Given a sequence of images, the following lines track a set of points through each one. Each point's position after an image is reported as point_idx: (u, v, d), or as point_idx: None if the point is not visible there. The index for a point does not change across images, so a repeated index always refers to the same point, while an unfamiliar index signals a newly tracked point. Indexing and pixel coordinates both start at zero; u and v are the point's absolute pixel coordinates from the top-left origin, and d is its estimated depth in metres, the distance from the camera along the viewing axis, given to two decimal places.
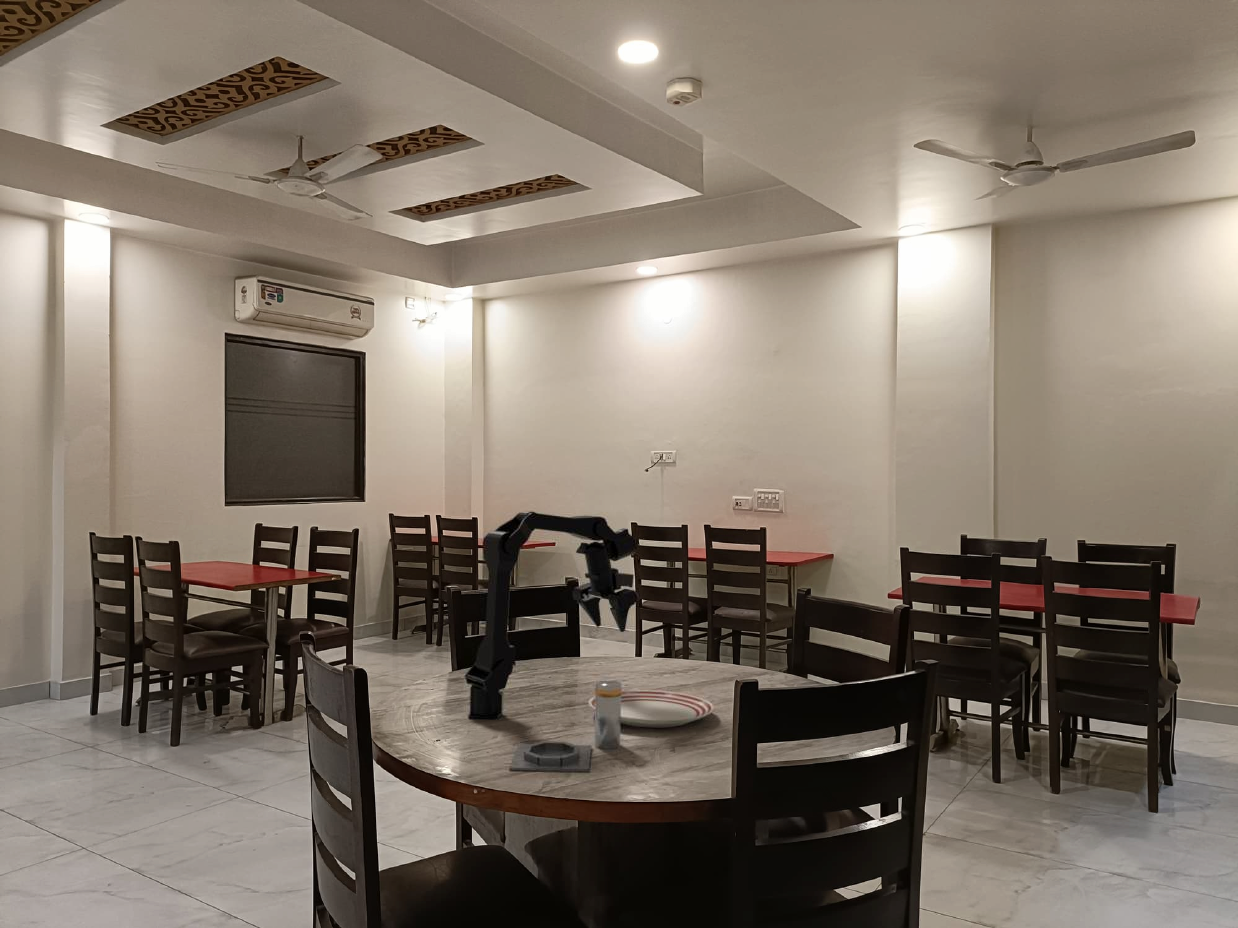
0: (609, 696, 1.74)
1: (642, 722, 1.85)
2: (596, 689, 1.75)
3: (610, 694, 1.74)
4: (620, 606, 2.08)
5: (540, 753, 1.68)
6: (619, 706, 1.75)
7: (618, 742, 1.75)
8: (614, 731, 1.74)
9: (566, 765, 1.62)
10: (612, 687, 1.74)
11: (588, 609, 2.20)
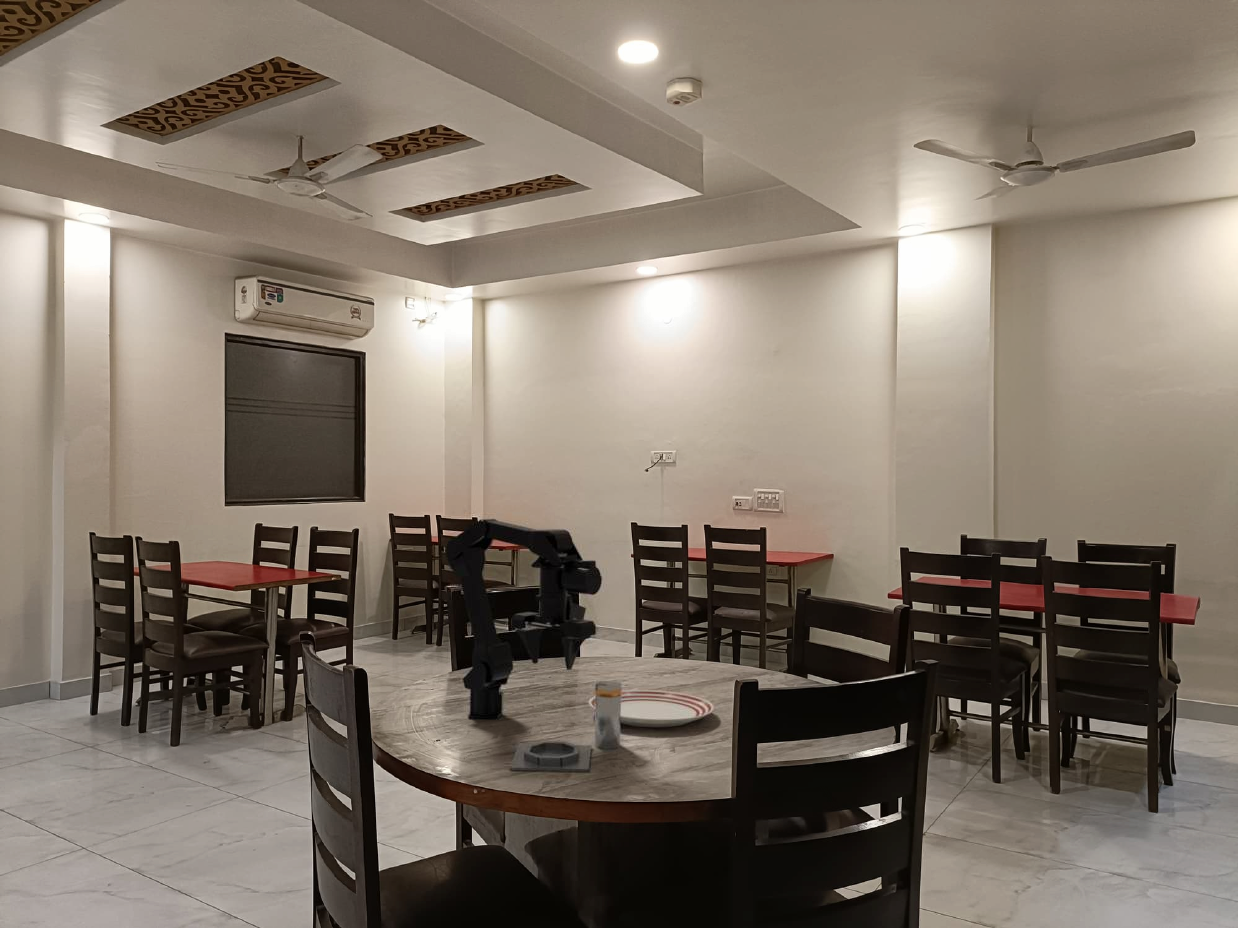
0: (609, 696, 1.74)
1: (642, 722, 1.85)
2: (596, 689, 1.75)
3: (610, 694, 1.74)
4: (578, 635, 1.79)
5: (540, 753, 1.68)
6: (619, 706, 1.75)
7: (618, 742, 1.75)
8: (614, 731, 1.74)
9: (566, 765, 1.62)
10: (612, 687, 1.74)
11: (528, 640, 1.88)
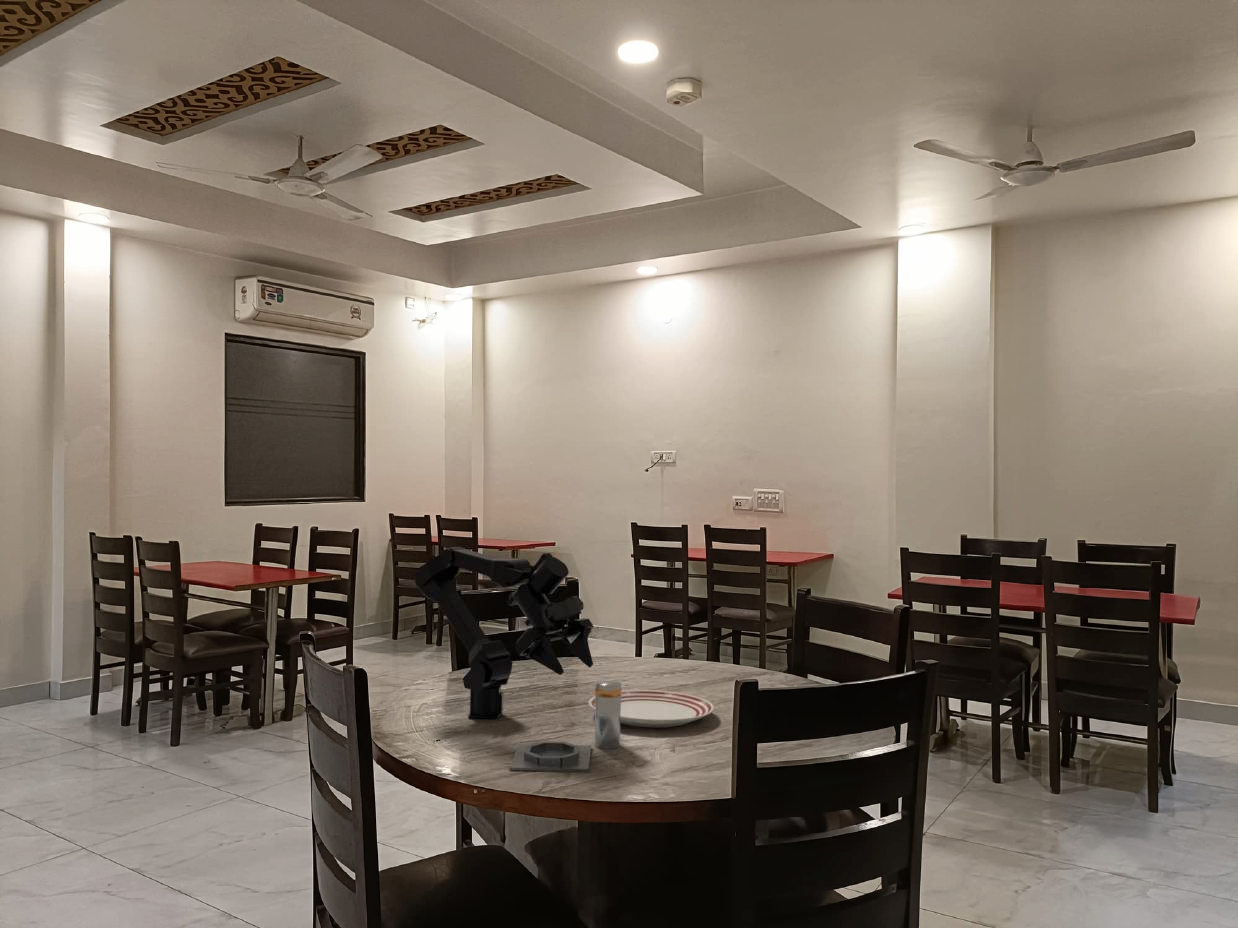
0: (609, 696, 1.74)
1: (641, 722, 1.85)
2: (596, 689, 1.75)
3: (610, 694, 1.74)
4: None
5: (540, 753, 1.68)
6: (619, 706, 1.75)
7: (618, 742, 1.75)
8: (614, 731, 1.74)
9: (566, 765, 1.62)
10: (612, 687, 1.74)
11: (574, 652, 1.88)
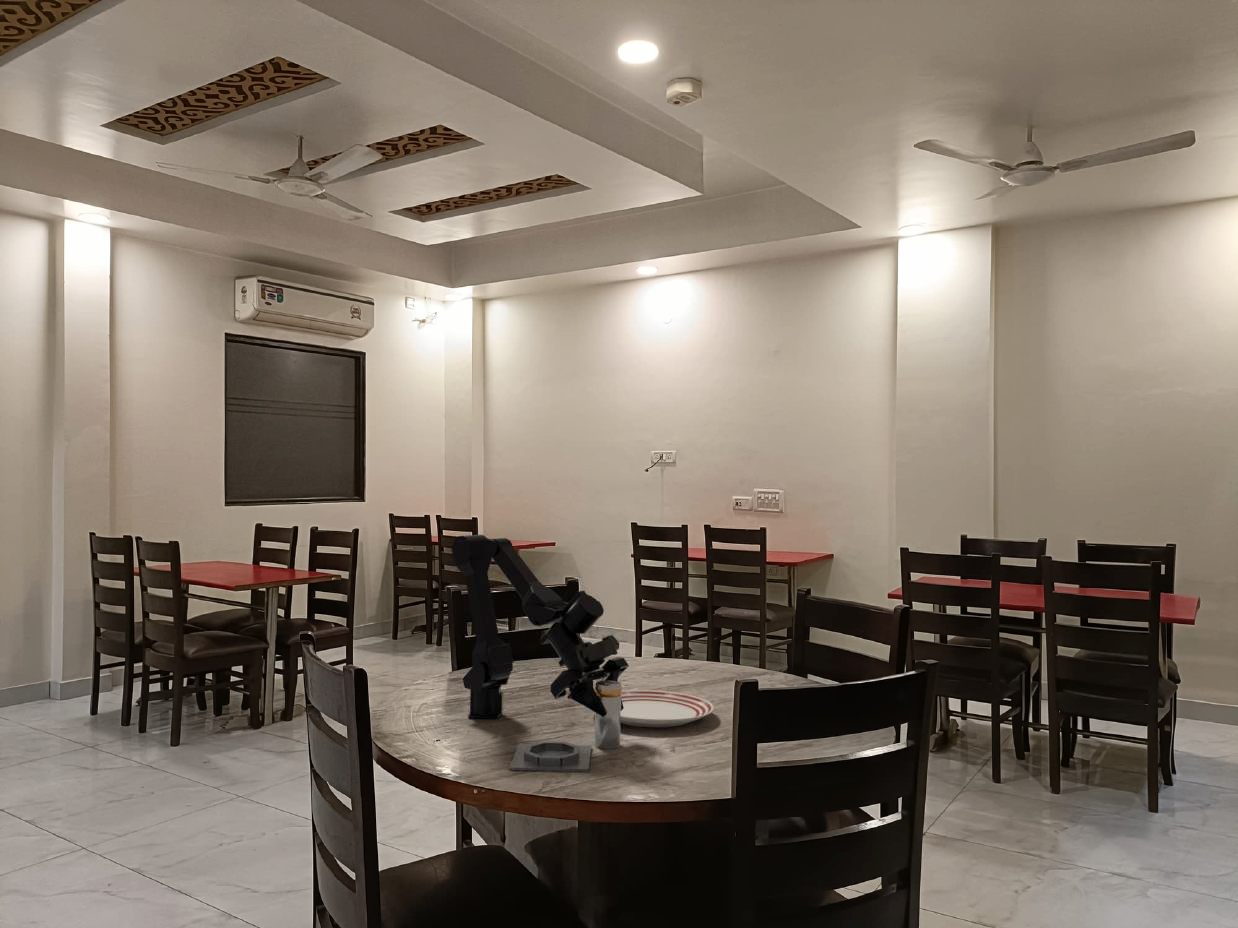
0: (609, 696, 1.74)
1: (641, 722, 1.85)
2: (596, 689, 1.75)
3: (610, 694, 1.74)
4: None
5: (540, 753, 1.68)
6: (619, 706, 1.75)
7: (618, 742, 1.75)
8: (614, 731, 1.74)
9: (566, 765, 1.62)
10: (612, 687, 1.74)
11: None
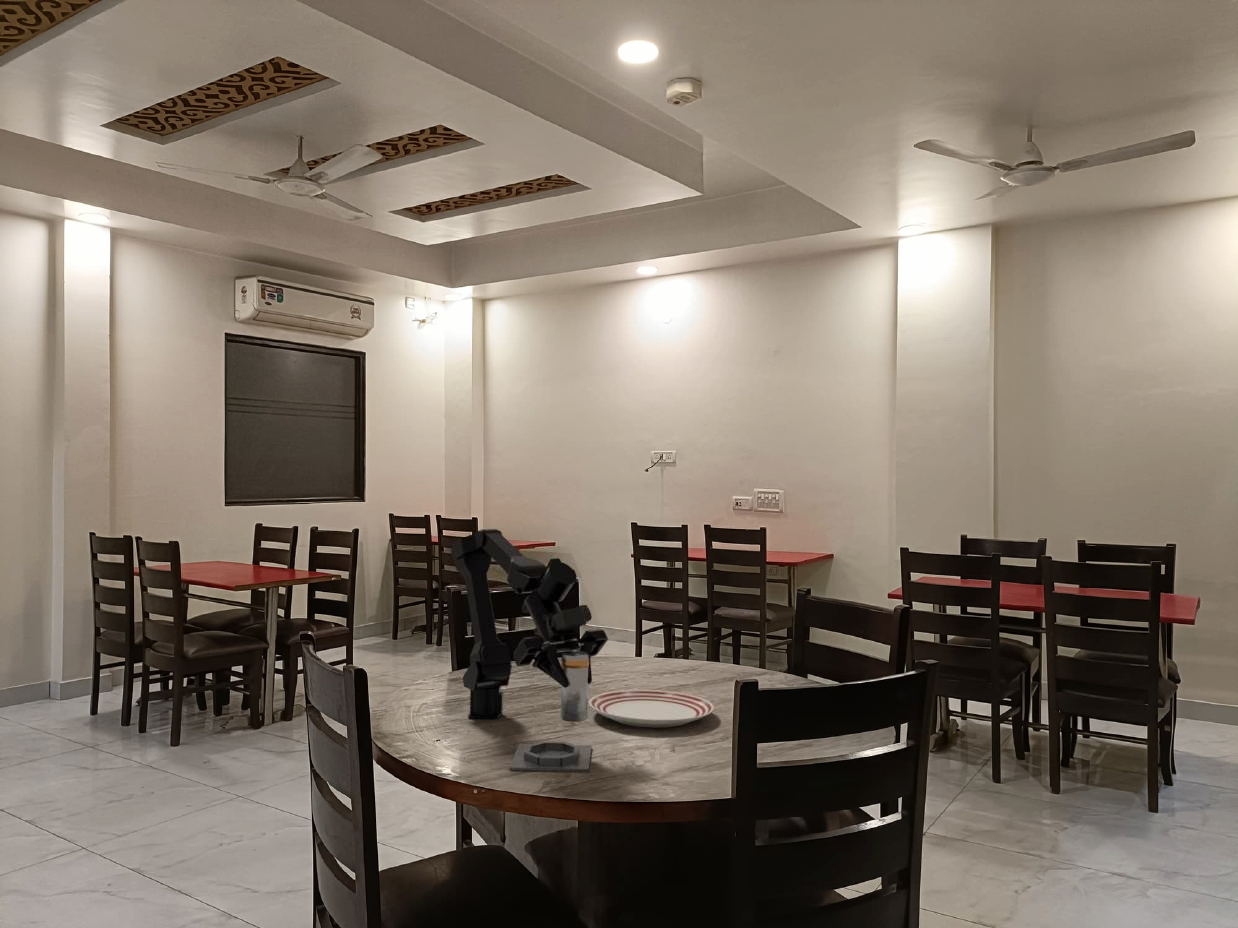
0: (572, 667, 1.67)
1: (641, 722, 1.85)
2: (561, 659, 1.69)
3: (573, 665, 1.67)
4: (516, 663, 1.69)
5: (540, 753, 1.68)
6: (584, 678, 1.68)
7: (582, 715, 1.68)
8: (577, 703, 1.67)
9: (566, 765, 1.62)
10: (575, 657, 1.67)
11: None
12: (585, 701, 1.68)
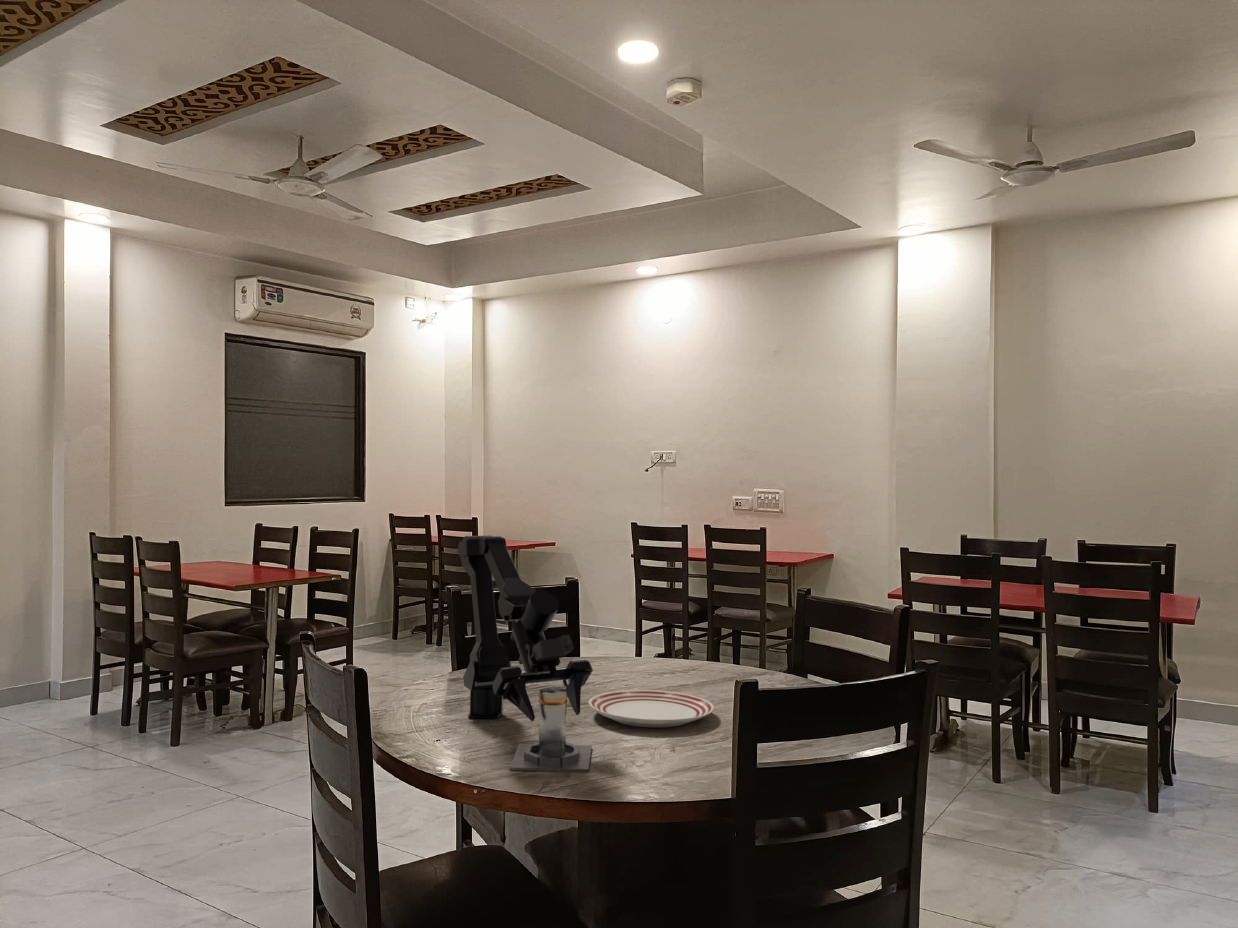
0: (548, 704, 1.65)
1: (641, 722, 1.85)
2: (539, 695, 1.67)
3: (548, 702, 1.65)
4: None
5: None
6: (561, 715, 1.65)
7: (559, 754, 1.65)
8: (553, 741, 1.65)
9: (566, 765, 1.62)
10: (551, 694, 1.65)
11: (568, 696, 1.73)
12: (562, 739, 1.66)
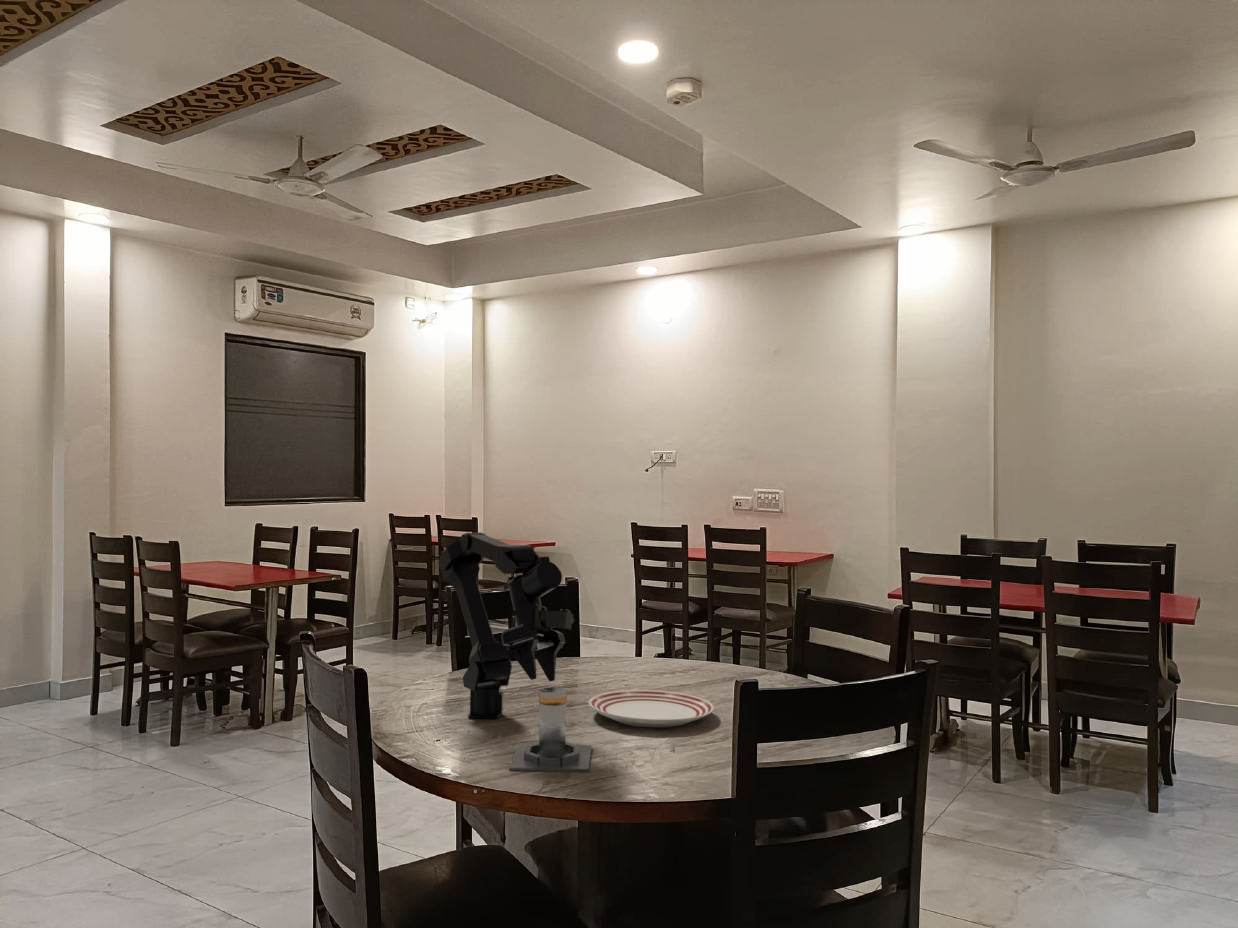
0: (548, 704, 1.65)
1: (641, 722, 1.85)
2: (539, 695, 1.67)
3: (548, 702, 1.65)
4: (503, 642, 1.74)
5: None
6: (561, 716, 1.65)
7: (559, 754, 1.65)
8: (553, 741, 1.65)
9: (566, 765, 1.62)
10: (551, 695, 1.65)
11: (538, 659, 1.85)
12: (562, 739, 1.66)
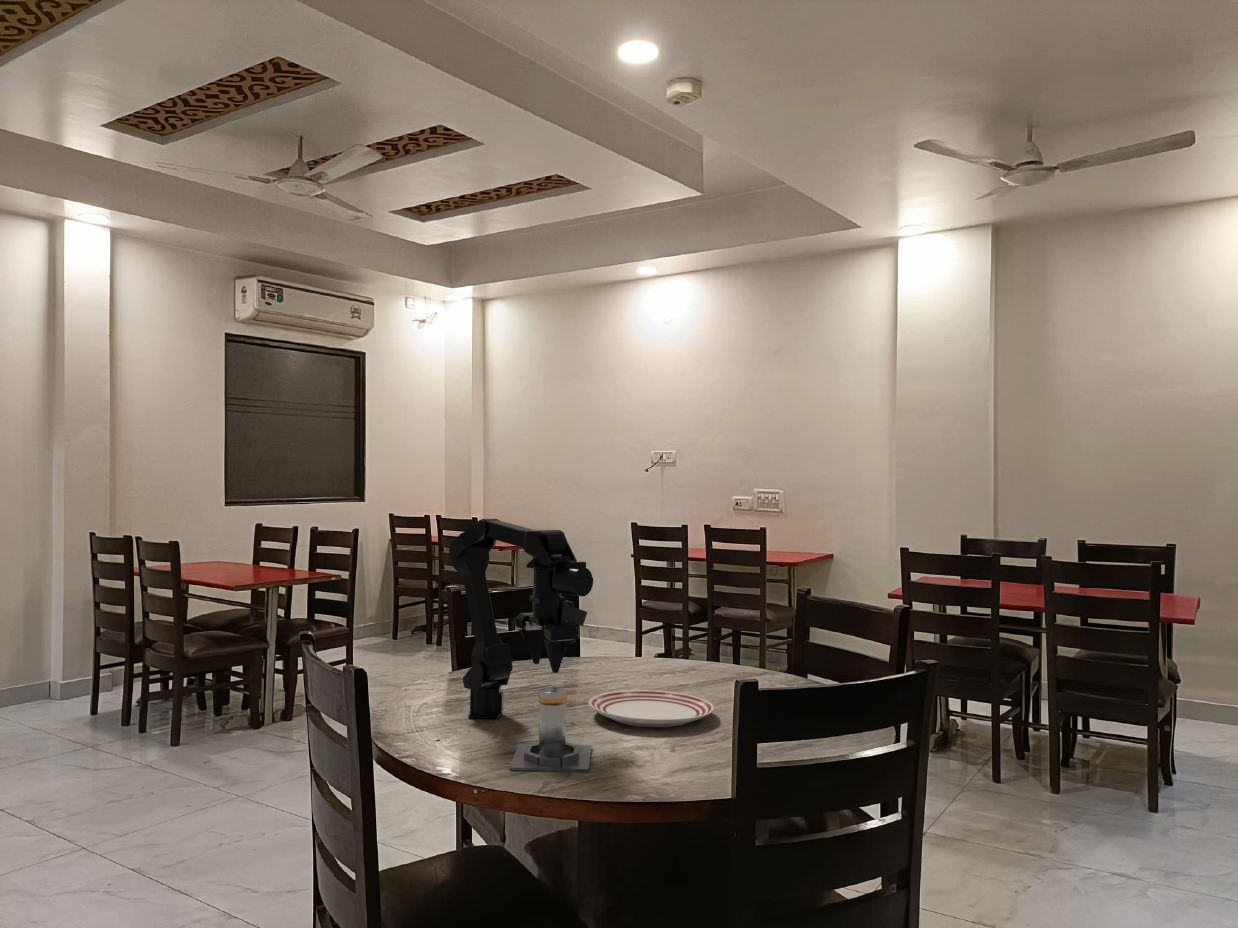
0: (547, 704, 1.65)
1: (641, 722, 1.85)
2: (539, 695, 1.67)
3: (548, 702, 1.65)
4: (553, 638, 1.75)
5: None
6: (560, 716, 1.65)
7: (559, 754, 1.65)
8: (553, 741, 1.65)
9: (566, 765, 1.62)
10: (550, 695, 1.65)
11: (527, 640, 1.88)
12: (562, 739, 1.66)
